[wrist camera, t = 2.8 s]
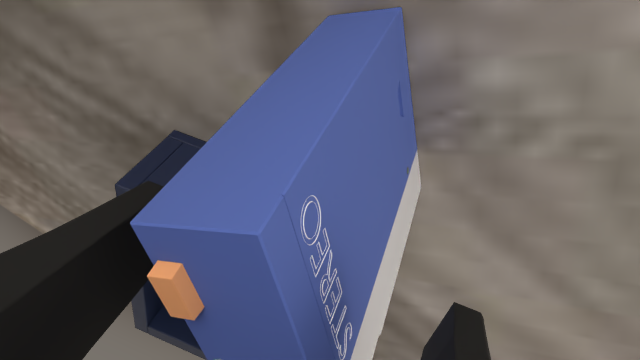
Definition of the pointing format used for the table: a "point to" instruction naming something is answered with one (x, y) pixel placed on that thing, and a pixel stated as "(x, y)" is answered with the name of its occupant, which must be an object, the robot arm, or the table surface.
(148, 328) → the holder
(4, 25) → the table surface
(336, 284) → the walkman
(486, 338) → the robot arm
